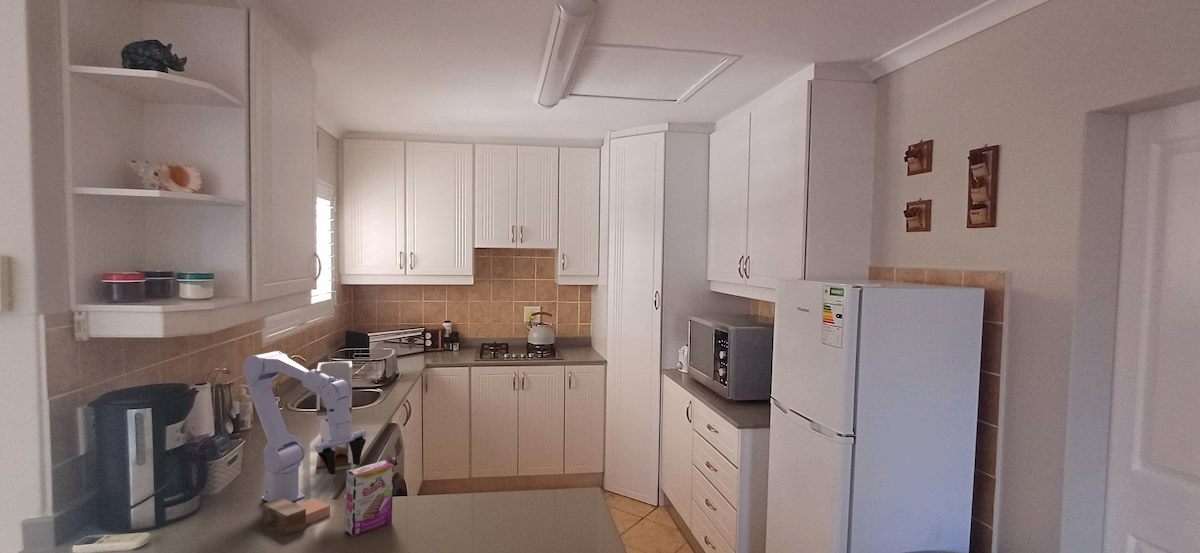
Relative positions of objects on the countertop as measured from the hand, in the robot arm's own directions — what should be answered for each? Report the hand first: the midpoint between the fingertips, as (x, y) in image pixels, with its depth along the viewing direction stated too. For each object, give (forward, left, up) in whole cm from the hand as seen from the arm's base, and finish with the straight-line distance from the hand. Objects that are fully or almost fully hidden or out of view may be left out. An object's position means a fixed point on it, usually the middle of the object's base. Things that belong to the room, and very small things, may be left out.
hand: (344, 469), depth 157 cm
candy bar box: (+16, -3, -12) cm, 20 cm away
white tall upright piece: (-32, +17, -11) cm, 38 cm away
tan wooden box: (-3, -15, -11) cm, 19 cm away
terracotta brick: (-3, -8, -12) cm, 15 cm away
